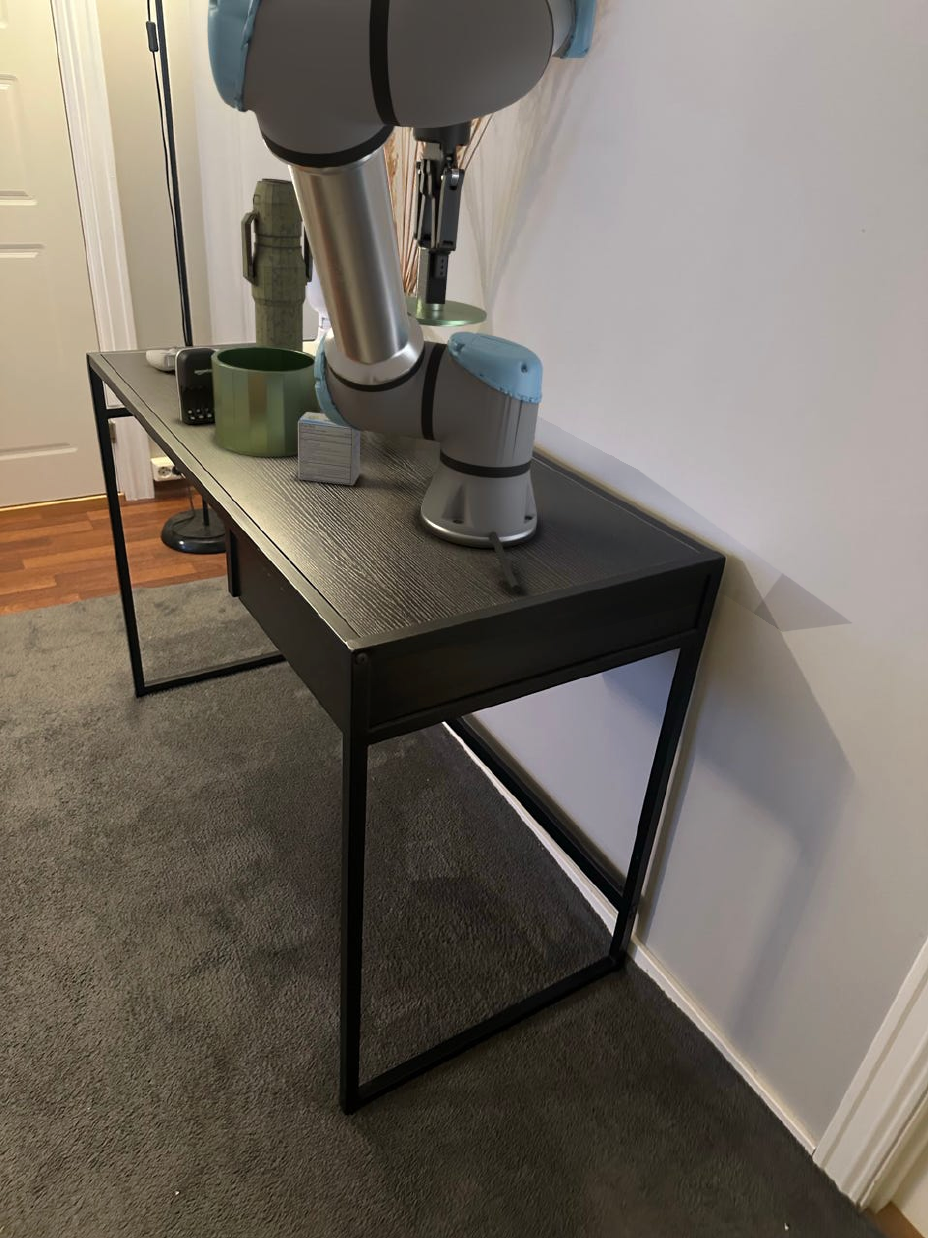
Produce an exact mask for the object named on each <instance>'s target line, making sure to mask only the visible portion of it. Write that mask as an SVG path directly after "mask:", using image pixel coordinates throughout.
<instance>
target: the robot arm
mask: <svg viewBox="0 0 928 1238" xmlns="http://www.w3.org/2000/svg"><path fill="white" fill-rule="evenodd" d="M207 6H208V9H207V24H206V25H207V27H206V28H207V29H206V30H207V31H206V33H207V49H208V58H209V64H210V70H211V75H212V79H213V83H214V86H215V89H216V91H217V93H218V95H219V97H220V99H221V100H222V102H223V103H224V104H225V105H227V106H229V107H230V108H232V109H235V110H237V111H238V112H240V113H247V112H249V111H251V112H253V113H254V114H255V115H254V116H255V118H256V121H257V122H256V123H257V124H258V128H259V131H260V136H261V138H262V140H263V143H264V146H265V147H266V148H267V150H268V151H269V152H270V153H271V154H272V155H273V157H275V158H276V159H278V160H279V161H280V162H282V163H284V164H285V165H287V166H288V170H289V174H290V177H291V181H292V184H293V185H294V189H295V193H296V196H297V200H298V204H299V208H300V211H301V215H302V219H303V222H302V224H303V227H304V226H305V230H306V234H307V238H308V241H309V245H310V249H311V253H312V256H313V265H314V267H315V271H316V275H317V279H318V282H319V286H320V290H321V294H322V297H323V301H324V305H325V309H326V312H327V316H328V319H329V324H330V325H329V328H328V330H327V331H326V333H325V334H324V335H323V336H322V338H321V339H320V341H319V343H318V346H317V349H316V353H315V366H314V377H315V378H316V381H317V383H316V386H315V390H316V395H317V399H318V402H319V405H320V410H321V411H322V414H325V416H326V417H327V418H328V419H329V420H330V421H331V422H333V423H335V424H337V425H340V426H344V427H349V428H351V429H354V430H357V431H360V432H372V433H376V434H377V433H378V434H385V435H391V436H399V437H405V438H412V439H420V440H426V441H432V442H438V443H439V456H438V457H439V458H438V465H437V466H436V469H435V471H434V473H433V476H425V487H426V486H428V488H427V490H426V492H425V495H424V497H423V499H422V503H421V506H420V518H419V519H420V524H421V525H422V526H423V527H424V529H425V530H426V531H428V532H429V533H430V534H432V535H433V536H436V537H437V538H440V539H442V540H445V541H446V542H450V543H453V544H457V545H459V546H465V547H470V548H471V547H472V548H481V549H494V551H495V553H496V556H497V558H498V562H499V564H500V568H501V569H502V572H503V575H504V577H505V580H506V582H507V583H508V585H509V586H510V588H511V590H512V592H513V593H518V592H520V591H521V586H520V584H519V582H518V580H517V579H516V577H515V575H514V572H513V571H512V568H511V566H510V564H509V559H508V558H507V555H506V553H505V549H504V548H508V547H514V546H518V545H521V544H523V543H525V542H528V541H529V540H530V539H531V538H533V537H534V535H535V534H536V531H537V524H538V512H537V506H536V500H535V496H534V490H533V485H532V478H531V467H532V461H533V460H532V459H533V452H534V444H535V439H536V438H535V436H536V429H537V421H538V414H539V406H540V403H541V402H542V400H543V393H542V388H543V387H542V386H543V376H544V367H543V363H542V360H541V358H540V357H539V356H538V355H537V354H536V353H535V352H534V351H533V350H531V349H529V348H528V347H526V346H523V345H522V344H520V343H517V342H515V341H512V340H510V339H506V338H503V337H499V336H495V335H492V334H488V333H483V332H476V333H475V332H471V331H456V332H453V333H451V335H450V336H449V339H448V340H447V341H446V343H441V342H437V341H431V340H425V335H424V331H423V329H422V325H420V324H419V322H418V321H417V320H416V318H415V317H414V316H413V315H411V314H410V313H409V312H407V309H406V302H405V297H406V296H405V289H404V283H403V282H404V281H403V275H402V267H401V260H400V254H399V253H400V252H399V246H398V240H397V233H396V227H395V220H394V211H393V205H392V199H391V191H390V185H389V178H388V177H389V176H388V171H387V165H386V157H385V149H384V147H385V146H386V145H387V144H388V143H389V141H390V140H391V138H392V137H393V134H394V132H395V130H396V127H397V128H398V127H399V128H411V129H412V138H413V140H414V141H415V142H420V143H425V146H424V152H423V156H422V157H423V158H421V161H418V160H417V161H416V162H415V164H414V167H415V197H414V219H413V234H412V236H413V240H415V241H416V246H417V261H416V277H415V278H416V279H415V293H414V294H415V295H414V297H416V294H417V278H418V262H419V247H420V246H423V245H429V246H432V247H431V248H427V249H426V251H427V253H428V268H427V283H426V298H425V303H426V304H445V300H446V298H447V297H446V296H447V285H448V284H447V283H448V272H449V271H448V270H449V259H450V255H451V253H452V252H456V250H457V241H458V234H459V233H458V231H459V222H460V221H459V220H460V209H461V201H462V200H461V199H462V191H463V185H464V182H465V181H464V180H465V176H466V171H465V169H464V168H459V164H458V156H457V155H458V153H457V151H458V150H457V148H458V147H468V146H469V145H470V143H471V132H472V121H474V120H476V119H480V118H482V117H486V116H488V115H491V114H494V113H497V112H499V111H502V110H504V109H506V108H508V107H510V106H512V105H514V104H515V103H517V102H519V101H520V100H521V99H523V98H524V97H526V96H527V95H528V94H529V93H530V92H531V91H532V90H533V89H534V88H535V87H536V86H537V84H538V83H539V82H540V80H541V79H542V77H543V76H544V74H545V72H546V70H547V68H548V66H549V63H550V61H551V58H559V59H561V60H565V59H583V58H585V57H587V55H588V54H589V52H590V50H591V48H592V47H591V46H592V42H593V38H594V37H593V36H594V31H595V26H596V25H595V24H596V18H597V9H598V0H208V5H207Z"/></svg>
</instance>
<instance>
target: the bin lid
mask: <svg viewBox="0 0 928 1238" xmlns="http://www.w3.org/2000/svg"><path fill="white" fill-rule="evenodd" d="M431 247H432V246H429V245H423V246H420V247H418V248H419V262H418V278H417V294H416V296H405V302H406V309H407V312H409V313H410V314H411V315H413V316H414V317H415V318H416V320H417V321H418V322H419V324H420V326H428V327H445V328H446V327H450V328H451V327H465V326H468V325H476V324H480V323H483V322H485V321H487V318H488V313H487V312H486V311H485V310H484V309H482V308H480V307H478V306H475V305H472V304H468V303H465V302H460V301H456V300H450V299H445V304H426V303H425V298H426V283H427V268H428V253H427V251H426V249H427V248H431Z"/></svg>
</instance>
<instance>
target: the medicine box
mask: <svg viewBox="0 0 928 1238" xmlns="http://www.w3.org/2000/svg"><path fill="white" fill-rule="evenodd" d="M360 448H361V431H357V430H354V429H351V428H349V427H344V426H340V425H337V424H335V423H333V422H331V421H330V420H329V419H328V418H327V417H326V416H325V414H324V413H321V412H320V413H312V412H307V413H305V414H304V415H303V416H302V417H301V418H300V420H299V421H298V455H297V456H298V457H297V459H298V460H297V461H298V462H297V463H298V471H297V472H298V474H297V475H298V476H297V477H298V480H300V481H301V480H302V481H311V482H318V483H319V482H320V483H327V484H328V483H329V484H335V485H336V484H337V485H345V486H352V487H353V486H354V485H355V483H356V482H357V480H358V478H359V475H360V459H361V458H360V455H361V454H360V452H361V451H360V450H361V449H360Z"/></svg>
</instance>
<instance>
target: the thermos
mask: <svg viewBox="0 0 928 1238" xmlns="http://www.w3.org/2000/svg"><path fill="white" fill-rule="evenodd" d="M252 224H253V225H252ZM252 226H253V233H254V242H252ZM240 230H241V231H240V232H241V233H240V234H241V256H242V259H241V260H242V261H241V262H242V277H243V278H244V279H245V280H246V281H247V282H248V283H250V284H251V296H252V299H253V301H254V316H255V318H254V319H255V321H254V323H255V346H270V347H281V348H288V349H294V350H299V351H302V352H304V313H303V312H304V303H305V300H306V295H307V294H306V286H308V283H312V282H313V275H314V274H313V272H314V260H313V256H312V253H311V249H310V245H309V241H308V238H307V234H306V230H305V226H304V225H303V219H302V215H301V211H300V208H299V204H298V200H297V196H296V193H295V189H294V185H293V181H292V180H288V179H281V178H280V179H279V178H261V180H257V181H256V185H255V189H254V193H253V197H252V209H251V212H246V213H244V216H243V218H242V220H241V221H240ZM302 236H303V246H302V245H301V244H302V243H301V242H302V241H301V240H302V239H301V238H302ZM252 243H253V244H252ZM252 245H253V246H252Z"/></svg>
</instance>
